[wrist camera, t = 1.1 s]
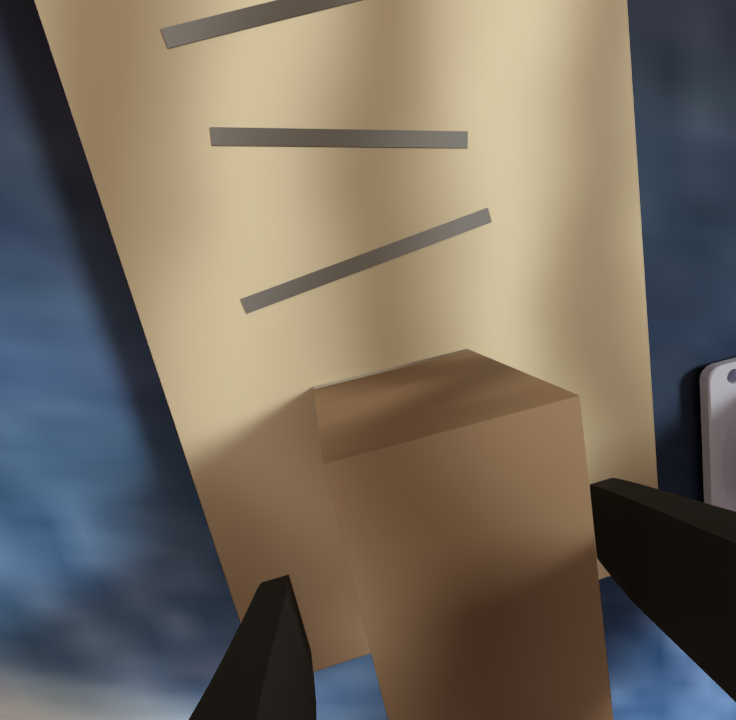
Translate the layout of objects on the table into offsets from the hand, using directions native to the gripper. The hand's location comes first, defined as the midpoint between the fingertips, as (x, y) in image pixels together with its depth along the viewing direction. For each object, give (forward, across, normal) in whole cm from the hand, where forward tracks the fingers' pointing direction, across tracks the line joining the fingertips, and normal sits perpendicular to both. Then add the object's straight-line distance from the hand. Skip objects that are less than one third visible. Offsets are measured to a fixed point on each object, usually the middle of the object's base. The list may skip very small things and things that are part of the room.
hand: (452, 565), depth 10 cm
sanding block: (+3, 0, 0) cm, 3 cm away
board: (+5, -1, -7) cm, 9 cm away
